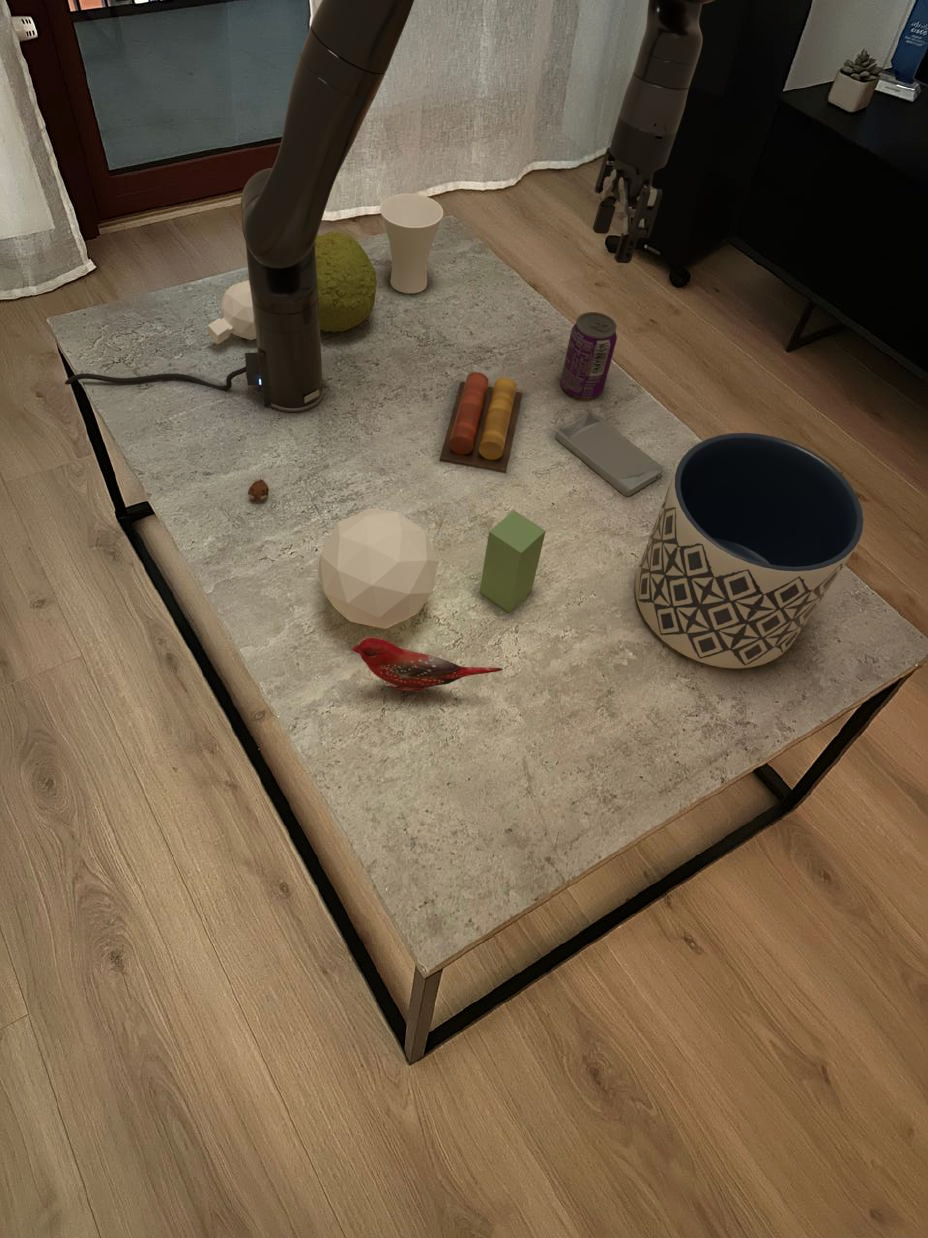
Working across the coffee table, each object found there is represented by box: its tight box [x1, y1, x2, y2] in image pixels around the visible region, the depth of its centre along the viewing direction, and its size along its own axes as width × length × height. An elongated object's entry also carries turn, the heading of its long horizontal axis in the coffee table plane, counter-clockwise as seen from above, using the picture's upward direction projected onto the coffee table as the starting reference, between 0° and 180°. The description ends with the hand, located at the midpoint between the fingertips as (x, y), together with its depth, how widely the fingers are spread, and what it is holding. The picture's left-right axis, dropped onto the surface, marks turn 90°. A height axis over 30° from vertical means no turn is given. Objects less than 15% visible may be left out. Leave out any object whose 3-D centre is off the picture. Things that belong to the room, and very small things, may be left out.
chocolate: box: [247, 473, 272, 501], centre depth 124 cm, size 3×2×4 cm
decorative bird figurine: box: [350, 637, 504, 692], centre depth 105 cm, size 3×18×10 cm, turn 88°
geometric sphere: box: [317, 507, 439, 630], centre depth 111 cm, size 14×15×15 cm
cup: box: [379, 193, 444, 294], centre depth 153 cm, size 10×10×14 cm
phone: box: [554, 411, 664, 497], centre depth 136 cm, size 8×16×1 cm, turn 40°
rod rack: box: [439, 371, 523, 474], centre depth 136 cm, size 18×10×4 cm, turn 170°
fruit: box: [315, 231, 378, 333], centre depth 146 cm, size 16×14×15 cm
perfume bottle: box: [207, 279, 256, 345], centre depth 143 cm, size 9×9×12 cm
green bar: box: [479, 509, 547, 614], centre depth 114 cm, size 5×5×12 cm
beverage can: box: [560, 311, 618, 399], centre depth 141 cm, size 7×7×12 cm
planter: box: [634, 432, 865, 669], centre depth 113 cm, size 22×22×20 cm
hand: (610, 246), depth 123 cm, fingers open, 8 cm apart
